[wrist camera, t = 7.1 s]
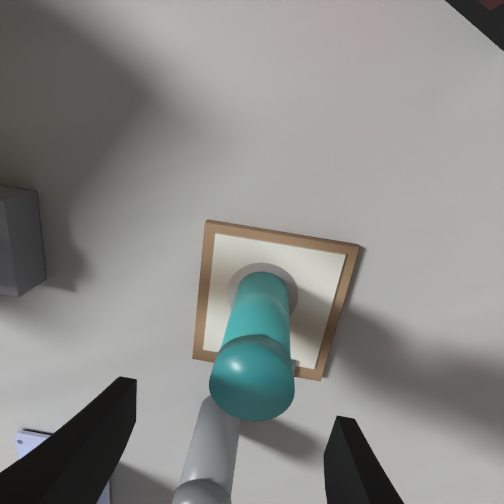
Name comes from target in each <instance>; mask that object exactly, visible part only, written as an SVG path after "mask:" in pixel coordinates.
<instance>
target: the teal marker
mask: <svg viewBox="0 0 504 504" xmlns="http://www.w3.org/2000/svg"><path fill="white" fill-rule="evenodd" d="M209 390H210V394H211V396H212V398H213V400H214V402H215V403H216V404H217V405H218V407H220V408H221V409H222V410H223V411H224V412H226V413H227V414H229V415H231V416H233V417H236V418H239V419H242V420H247V421H263V420H268V419H272V418H274V417H277V416H278V415H280V414H282V413H283V412H284V411H285V410H287V409H288V407H289V406H290V405H291V403H292V401H293V398H294V393H295V388H294V367H293V362H292V359H291V351H290V326H289V300H288V290H287V287H286V285H285V283H284V282H283V281H282V280H281V279H280V278H279V277H278V276H276V275H274V274H272V273H269V272H263V271H259V272H254V273H251V274H249V275H247V276H245V277H244V278H243V279H242V280H241V281H240V283H239V284H238V287H237V290H236V294H235V298H234V301H233V305H232V309H231V312H230V316H229V320H228V323H227V327H226V331H225V334H224V338H223V342H222V345H221V349H220V350H219V351H218V353H217V356H216V358H215V362H214V366H213V369H212V373H211V376H210V380H209Z"/></svg>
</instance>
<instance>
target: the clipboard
mask: <svg viewBox="0 0 504 504" xmlns="http://www.w3.org/2000/svg"><path fill="white" fill-rule="evenodd" d="M358 251H359V246H358V245H357V244H353V243H347V242H341V241H335V240H328V239H322V238H316V237H310V236H304V235H298V234H292V233H286V232H280V231H274V230H268V229H262V228H256V227H249V226H243V225H237V224H231V223H225V222H219V221H213V220H206V222H205V228H204V239H203V250H202V260H201V271H200V282H199V293H198V304H197V314H196V325H195V336H194V347H193V358H192V359H197V360H202V361H208V362H215V358H216V356H217V353H218V351H219V350H220V349H221V345H222V342H223V338H224V334H225V331H226V327H227V323H228V320H229V316H230V312H231V309H232V305H233V301H234V298H235V294H236V290H237V287H238V284H239V283H240V281H241V280H242V279H243V278H244V277H245V276H247V275H249V274H251V273H254V272H259V271H263V272H269V273H272V274H274V275H276V276H278V277H279V278H280V279H281V280H282V281H283V282H284V283H285V285H286V287H287V290H288V300H289V326H290V351H291V359H292V362H293V367H294V377H299V378H305V379H310V380H316V381H321V378H322V374H323V371H324V368H325V364H326V361H327V357H328V354H329V350H330V347H331V344H332V340H333V337H334V333H335V330H336V326H337V323H338V320H339V316H340V313H341V309H342V306H343V302H344V299H345V296H346V292H347V289H348V285H349V282H350V278H351V275H352V272H353V268H354V265H355V261H356V258H357V254H358Z"/></svg>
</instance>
